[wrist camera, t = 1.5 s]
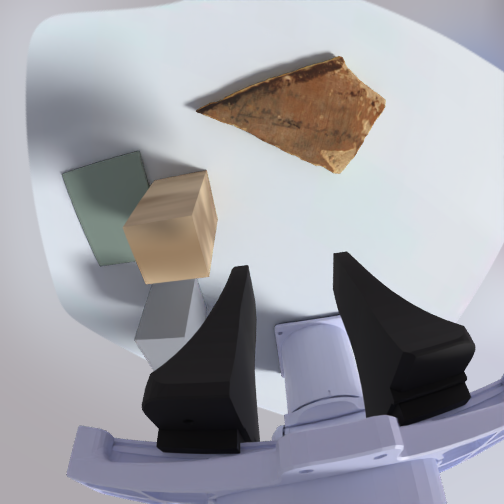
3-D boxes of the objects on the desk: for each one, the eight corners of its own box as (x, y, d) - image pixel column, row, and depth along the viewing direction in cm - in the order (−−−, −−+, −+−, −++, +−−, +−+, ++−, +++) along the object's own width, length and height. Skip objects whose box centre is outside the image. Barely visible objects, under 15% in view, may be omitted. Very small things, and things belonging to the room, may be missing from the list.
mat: (171, 254, 25) (170, 256, 25) (101, 264, 26) (100, 266, 25) (138, 150, 20) (137, 151, 20) (63, 173, 21) (61, 174, 20)
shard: (198, 108, 19) (194, 112, 18) (247, 13, 15) (247, 8, 14) (334, 173, 22) (341, 181, 21) (385, 89, 18) (396, 91, 17)
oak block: (217, 219, 23) (209, 276, 18) (168, 227, 24) (145, 284, 18) (206, 170, 21) (191, 215, 15) (154, 180, 22) (122, 227, 16)
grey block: (206, 308, 29) (199, 369, 23) (167, 312, 29) (153, 370, 23) (195, 275, 26) (184, 337, 21) (153, 280, 27) (134, 340, 21)
